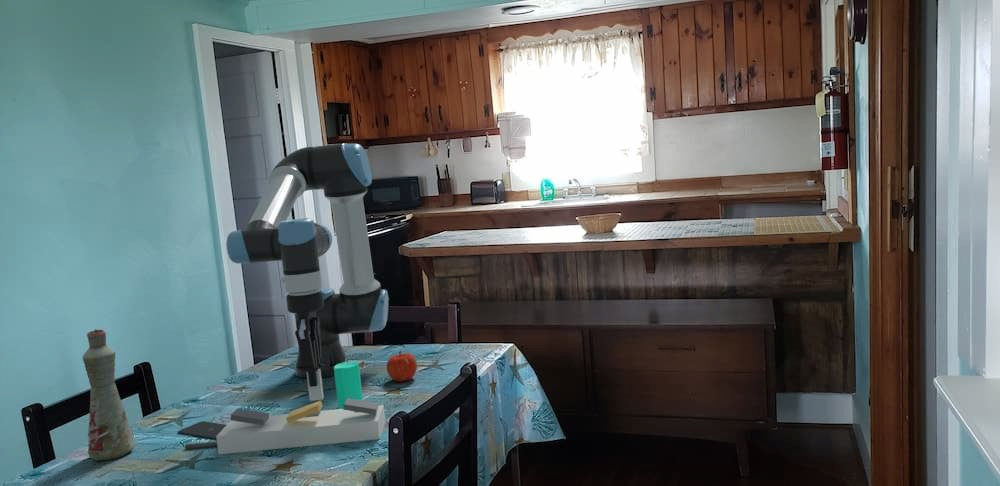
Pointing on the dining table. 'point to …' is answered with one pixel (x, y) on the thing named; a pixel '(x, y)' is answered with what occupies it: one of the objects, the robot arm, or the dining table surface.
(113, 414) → the bottle
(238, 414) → the block
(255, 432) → the power strip
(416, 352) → the dining table surface
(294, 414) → the rocker
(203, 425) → the smartphone
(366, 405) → the block
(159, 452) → the dining table surface
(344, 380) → the candle
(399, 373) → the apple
